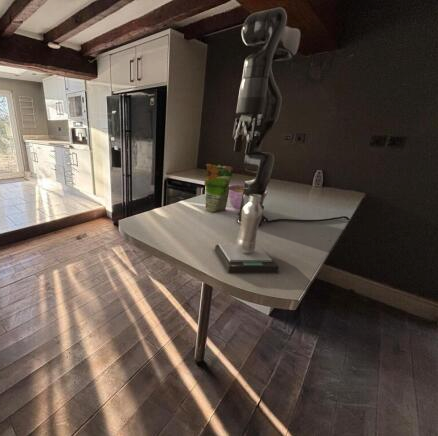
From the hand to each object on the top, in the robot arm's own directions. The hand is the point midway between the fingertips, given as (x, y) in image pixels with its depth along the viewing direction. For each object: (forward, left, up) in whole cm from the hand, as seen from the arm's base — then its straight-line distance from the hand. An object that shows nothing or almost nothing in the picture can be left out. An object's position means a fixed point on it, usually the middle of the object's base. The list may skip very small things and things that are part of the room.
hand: (242, 153), depth 74 cm
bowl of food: (-25, -43, -35) cm, 61 cm away
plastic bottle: (-3, +7, -32) cm, 33 cm away
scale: (-3, +9, -35) cm, 36 cm away
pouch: (-8, -42, -35) cm, 56 cm away
